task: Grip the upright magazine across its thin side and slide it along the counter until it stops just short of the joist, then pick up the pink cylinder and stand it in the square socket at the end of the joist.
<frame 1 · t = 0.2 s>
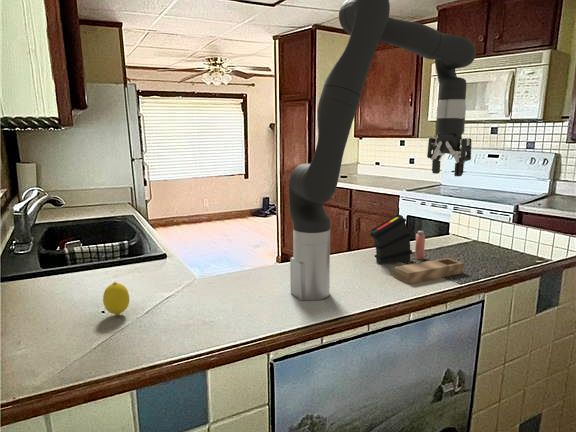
hand: (446, 174, 122), 28 cm above the counter, tool pointing down, fingers open, 8 cm apart
magazine: (390, 262, 135), on the counter
lemon: (118, 316, 97), on the counter
joist: (431, 274, 122), on the counter
pink cylinder: (419, 258, 138), on the counter
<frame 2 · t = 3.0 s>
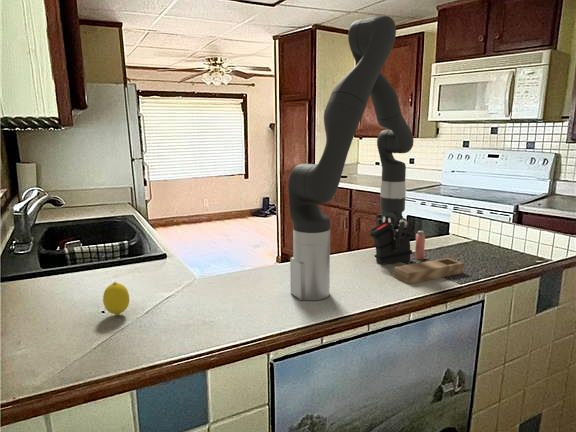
hand: (390, 248, 134), 4 cm above the counter, tool pointing down, fingers closed on magazine, 4 cm apart
magazine: (389, 262, 135), on the counter, touching gripper
everything else where it was.
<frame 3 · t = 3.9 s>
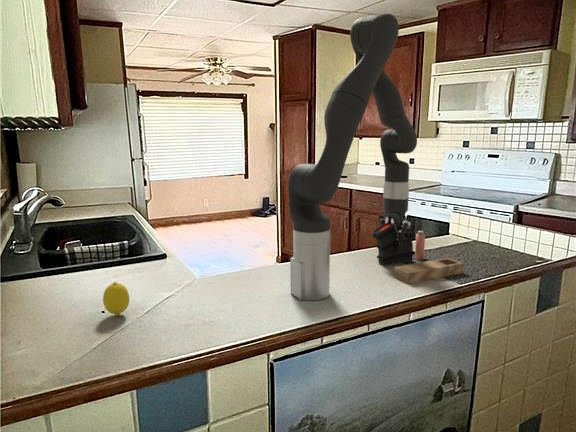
hand: (393, 249, 132), 4 cm above the counter, tool pointing down, fingers closed on magazine, 4 cm apart
magazine: (392, 263, 133), on the counter, touching gripper
everything else where it was.
when the fingers open (4 cm above the counter, at t = 5.2 s): magazine stays where it is, on the counter.
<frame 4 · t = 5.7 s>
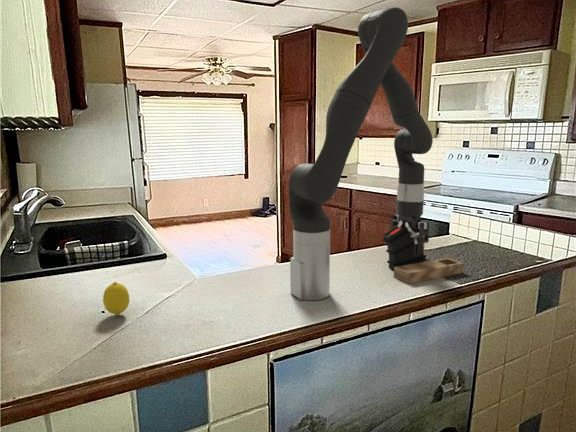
hand: (407, 252, 126), 5 cm above the counter, tool pointing down, fingers open, 8 cm apart
magazine: (403, 268, 129), on the counter
everything else where it was.
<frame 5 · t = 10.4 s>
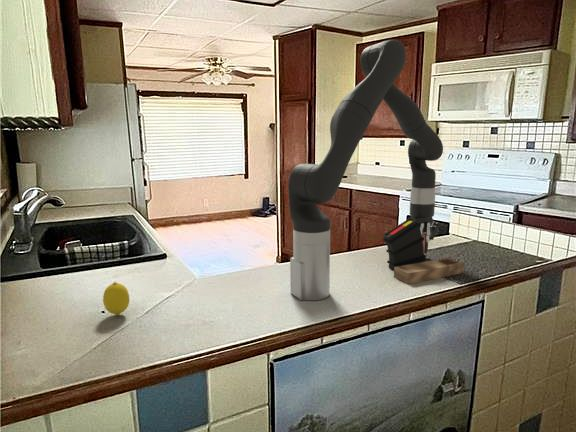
hand: (419, 253, 138), 2 cm above the counter, tool pointing down, fingers closed on pink cylinder, 2 cm apart
pink cylinder: (419, 258, 138), on the counter, touching gripper
everything else where it was.
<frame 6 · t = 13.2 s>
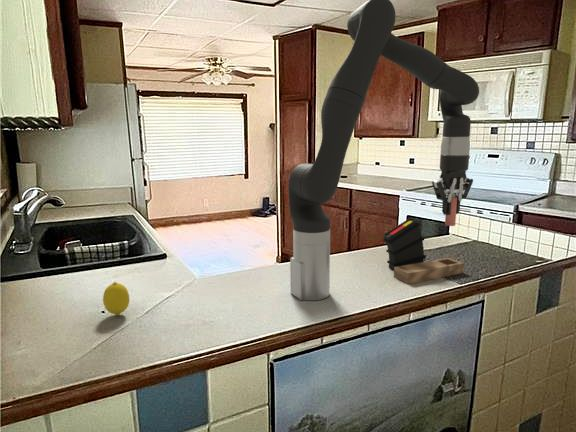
hand: (450, 213, 121), 17 cm above the counter, tool pointing down, fingers closed on pink cylinder, 2 cm apart
pink cylinder: (450, 224, 122), point 14 cm above the counter, touching gripper
everything else where it was.
when the fingers open (3 cm above the counter, at t = 16.5 s): pink cylinder stays where it is, resting in joist.
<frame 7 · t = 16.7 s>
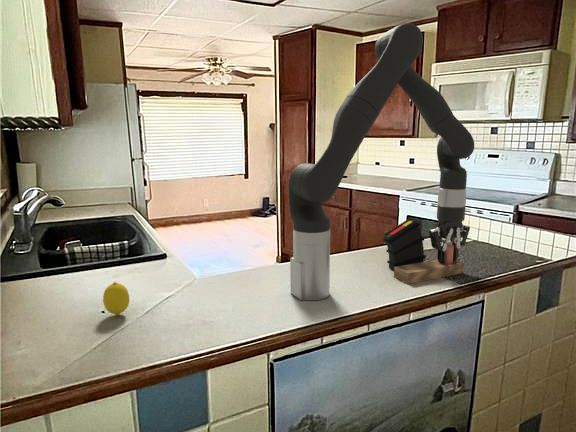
hand: (447, 261, 124), 3 cm above the counter, tool pointing down, fingers open, 4 cm apart
pink cylinder: (446, 271, 125), resting in joist
everything else where it was.
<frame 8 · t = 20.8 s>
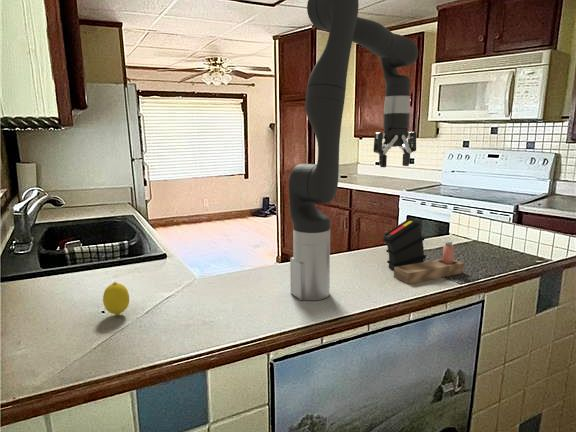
hand: (394, 166, 130), 30 cm above the counter, tool pointing down, fingers open, 8 cm apart
nothing on the counter moved.
at the end: pink cylinder 0.0 cm from the target spot on the joist, point 0.0 cm above the joist's base; pink cylinder tilted 0°; magazine inside the target area (1.5 cm from its centre), on the counter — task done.
